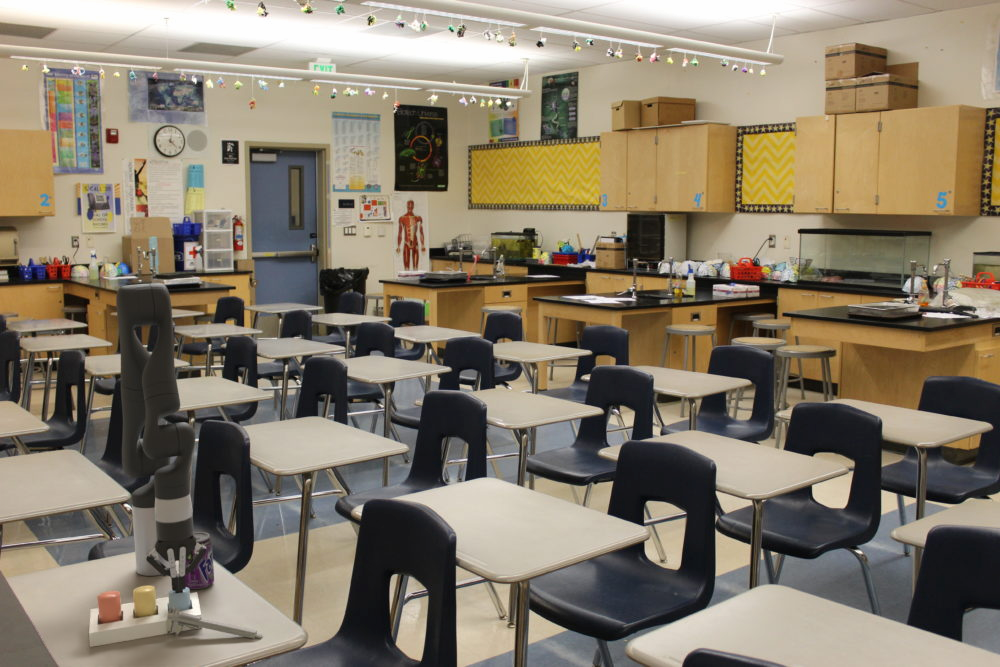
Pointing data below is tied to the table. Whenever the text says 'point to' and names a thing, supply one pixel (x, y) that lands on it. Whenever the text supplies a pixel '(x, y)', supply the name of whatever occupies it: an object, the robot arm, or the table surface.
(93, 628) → the console
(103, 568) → the table surface
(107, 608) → the button terracotta
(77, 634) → the table surface
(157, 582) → the table surface
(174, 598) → the button blue
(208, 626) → the caliper
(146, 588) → the yellow rounded cylinder
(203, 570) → the beverage can
